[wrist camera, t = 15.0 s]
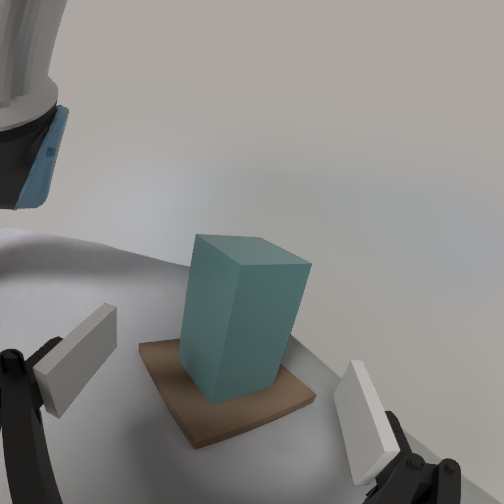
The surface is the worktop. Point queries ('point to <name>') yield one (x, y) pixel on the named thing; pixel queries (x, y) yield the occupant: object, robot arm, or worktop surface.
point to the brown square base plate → (221, 414)
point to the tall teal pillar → (238, 313)
